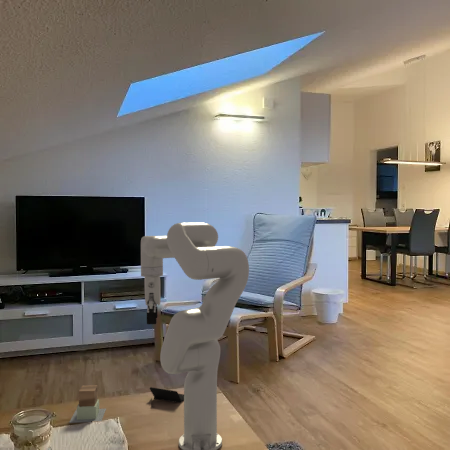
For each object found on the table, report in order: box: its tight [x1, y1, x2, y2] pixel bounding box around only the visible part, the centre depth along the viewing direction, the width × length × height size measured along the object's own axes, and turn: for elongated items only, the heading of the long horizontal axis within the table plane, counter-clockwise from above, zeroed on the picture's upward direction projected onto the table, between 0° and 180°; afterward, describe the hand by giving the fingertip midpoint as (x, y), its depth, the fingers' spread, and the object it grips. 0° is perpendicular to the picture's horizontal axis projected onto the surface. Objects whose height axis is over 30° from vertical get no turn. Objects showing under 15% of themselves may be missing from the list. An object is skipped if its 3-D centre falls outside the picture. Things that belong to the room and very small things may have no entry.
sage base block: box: [76, 398, 100, 420], centre depth 153 cm, size 6×6×4 cm
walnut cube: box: [78, 384, 99, 407], centre depth 153 cm, size 5×5×5 cm
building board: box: [68, 408, 107, 424], centre depth 153 cm, size 10×10×1 cm
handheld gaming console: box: [149, 386, 184, 404], centre depth 168 cm, size 12×7×10 cm
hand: (152, 320), depth 161 cm, fingers open, 9 cm apart
